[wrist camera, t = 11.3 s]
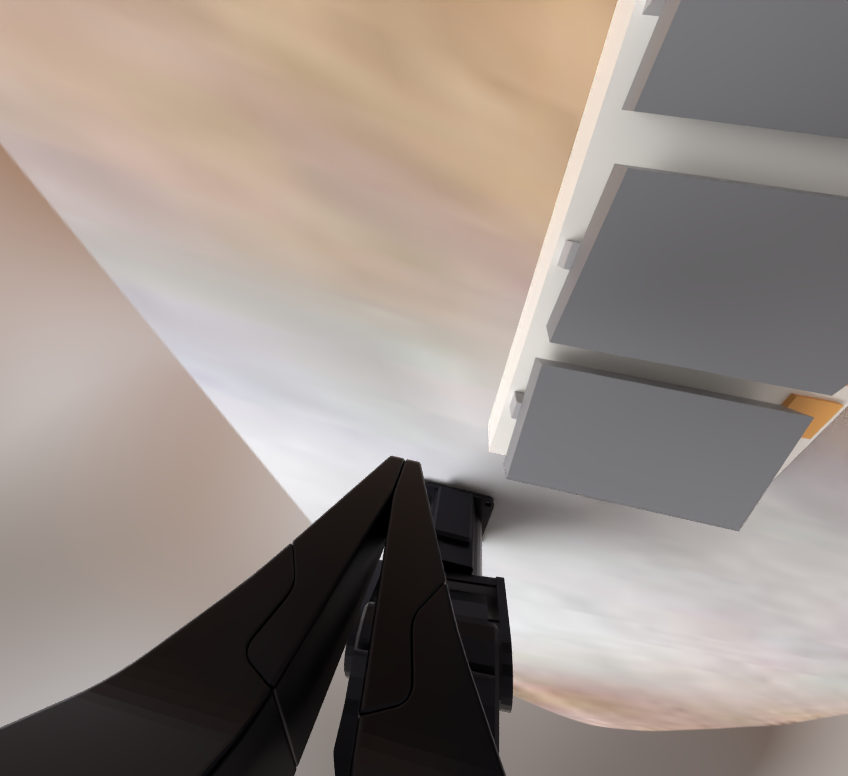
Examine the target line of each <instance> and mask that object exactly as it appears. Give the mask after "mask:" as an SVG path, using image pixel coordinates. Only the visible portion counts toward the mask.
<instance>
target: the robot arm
mask: <svg viewBox="0 0 848 776" xmlns="http://www.w3.org/2000/svg"><path fill="white" fill-rule="evenodd" d="M486 502H489V503H486ZM493 507H494V499H493V498H492V497H489V496H485V495H481V494H476V493H472V492H468V491H464V490H459V489H455V488H451V487H446V486H442V485H438V484H433V483H429V482H425V481H424V477H423V472H422V468H421V464H420V463H419V462H417V461H413V460H408V459H407V460H406V461H405V460H404V459H403V458H399V457H395V456H390V457H389V458H387V459H386V460H385V461H384V462H383V463H382V464H381V465H379V466H378V467H377V468H376V469H375V470H374V471H373V472H371V473H370V474H369V475H368V476H367V477H366V478H365V479H363V480H362V481H361V482H360V483H359V484H358V485H357V486H355V487H354V488H353V489H352V490H351V491H350V492H349V493H347V494H346V495H345V496H344V497H343V498H342V499H341V500H339V501H338V502H337V503H336V504H335V505H334V506H333V507H331V508H330V509H329V510H328V511H327V512H326V513H325V514H323V515H322V516H321V517H320V518H319V519H318V520H316V521H315V522H314V523H313V524H312V525H311V526H310V527H308V528H307V529H306V530H305V531H304V532H303V533H302V534H300V535H299V536H298V537H297V538H296V539H295V540H294V541H293V545H292V544H289V545H288V546H287V547H285V548H284V549H283V550H282V551H281V552H280V553H279V554H277V555H276V556H275V557H274V558H273V559H272V560H270V561H269V562H268V563H267V564H266V565H264V566H263V567H262V568H261V569H259V570H258V571H257V572H256V573H255V574H253V575H252V576H251V577H250V578H248V579H247V580H246V581H244V582H243V583H242V584H240V585H239V586H238V587H237V588H235V589H234V590H232V591H231V592H230V593H228V594H227V595H226V596H224V597H223V598H222V599H221V600H219V601H218V602H216V603H215V604H213V605H212V606H211V607H209V608H208V609H207V610H205V611H204V612H203V613H201V614H200V615H199V616H197V617H196V618H194V619H193V620H192V621H190V622H189V623H187V624H186V625H185V626H183V627H182V628H181V629H179V630H178V631H176V632H175V633H174V634H172V635H171V636H170V637H168V638H167V639H165V640H164V641H163V642H161V643H160V644H159V645H157V646H156V647H154V648H153V649H152V650H150V651H149V652H148V653H146V654H145V655H143V656H142V657H140V658H139V659H138V660H136V661H135V662H133V663H132V664H130V665H128V666H127V667H125V668H124V669H122V670H121V671H119V672H117V673H116V674H114V675H112V676H111V677H109V678H107V679H105V680H104V681H102V682H100V683H98V684H96V685H94V686H92V687H90V688H88V689H86V690H85V691H83V692H80V693H78V694H76V695H74V696H71V697H69V698H67V699H65V700H62V701H60V702H58V703H55V704H53V705H51V706H49V707H46V708H44V709H42V710H40V711H37V712H35V713H33V714H30V715H28V716H26V717H24V718H21V719H19V720H17V721H14V722H12V723H10V724H8V725H5V726H3V727H1V728H0V776H294V774H295V772H296V767H297V766H298V764H299V762H300V759H301V757H302V754H303V751H304V749H305V746H306V744H307V741H308V739H309V736H310V734H311V731H312V729H313V726H314V724H315V721H316V719H317V716H318V713H319V711H320V708H321V706H322V703H323V701H324V698H325V696H326V693H327V691H328V688H329V685H330V683H331V681H332V678H333V676H334V673H335V670H336V668H337V665H338V663H339V660H340V658H341V655H342V653H343V650H344V648H345V645H346V651H345V660H344V661H345V662H344V672H345V676H346V677H347V678H349V682H348V687H347V693H346V699H345V704H344V709H343V713H342V717H341V722H340V726H339V730H338V734H337V738H336V742H335V747H334V768H335V776H506V773H505V771H504V768H503V765H502V762H501V759H500V757H499V711H504V712H509V713H510V712H511V709H512V699H513V664H512V645H511V634H510V626H509V617H508V608H507V599H506V590H505V582H504V578H502V577H496V578H492V577H485V576H482V536H483V533H484V531H485V528H486V526H487V523H488V520H489V518H490V515H491V513H492V510H493ZM384 546H385V547H384ZM383 549H384V554H383V560H379V559H380V557H381V554H382V551H383Z"/></svg>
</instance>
